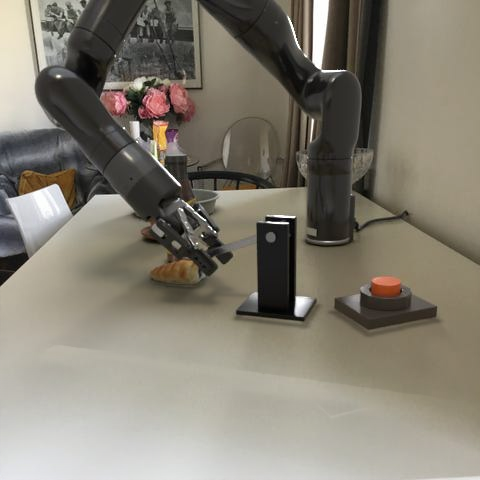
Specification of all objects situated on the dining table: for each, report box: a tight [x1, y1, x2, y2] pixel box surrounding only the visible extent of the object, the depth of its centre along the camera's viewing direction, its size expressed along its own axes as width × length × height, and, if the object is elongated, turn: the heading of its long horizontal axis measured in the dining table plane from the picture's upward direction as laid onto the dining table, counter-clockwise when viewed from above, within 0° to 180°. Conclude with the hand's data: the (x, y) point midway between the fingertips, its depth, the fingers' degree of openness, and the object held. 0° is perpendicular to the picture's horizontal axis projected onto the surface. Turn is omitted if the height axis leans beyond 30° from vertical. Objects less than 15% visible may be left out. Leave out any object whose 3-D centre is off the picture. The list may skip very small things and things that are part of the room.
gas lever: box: [204, 220, 291, 259], centre depth 81 cm, size 13×6×2 cm, turn 71°
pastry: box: [149, 260, 207, 286], centre depth 97 cm, size 9×7×4 cm
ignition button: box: [370, 276, 402, 296], centre depth 79 cm, size 4×4×2 cm
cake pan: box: [134, 188, 221, 218], centre depth 153 cm, size 25×25×4 cm
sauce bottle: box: [164, 153, 199, 263], centre depth 107 cm, size 6×6×20 cm
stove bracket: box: [235, 214, 318, 323], centre depth 81 cm, size 10×8×14 cm
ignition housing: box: [333, 282, 438, 331], centre depth 80 cm, size 11×9×4 cm
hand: (221, 265), depth 84 cm, fingers closed on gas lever, 5 cm apart
